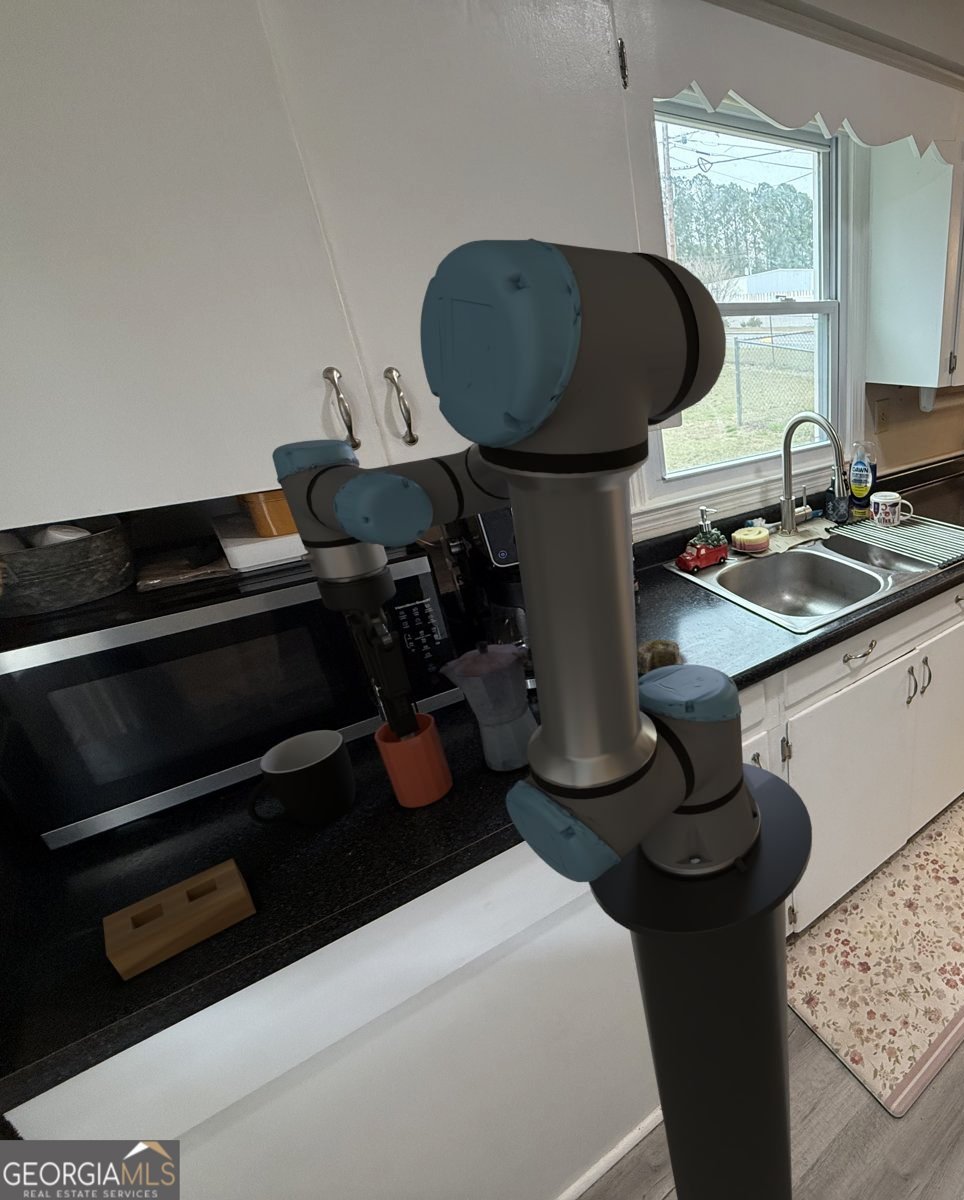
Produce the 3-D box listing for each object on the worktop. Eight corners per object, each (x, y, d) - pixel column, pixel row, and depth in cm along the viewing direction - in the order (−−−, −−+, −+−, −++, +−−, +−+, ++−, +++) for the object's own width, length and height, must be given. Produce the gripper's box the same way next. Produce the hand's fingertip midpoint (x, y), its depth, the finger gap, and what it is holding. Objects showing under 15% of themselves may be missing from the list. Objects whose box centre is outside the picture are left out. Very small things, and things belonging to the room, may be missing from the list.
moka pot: (468, 745, 99) (437, 635, 90) (570, 725, 103) (549, 618, 95) (461, 784, 90) (425, 666, 82) (571, 760, 95) (548, 646, 87)
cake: (624, 664, 123) (620, 639, 121) (670, 649, 128) (667, 625, 126) (644, 681, 115) (640, 655, 113) (692, 665, 120) (689, 640, 119)
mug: (342, 779, 91) (319, 722, 87) (378, 798, 88) (356, 740, 83) (247, 834, 82) (216, 773, 78) (283, 858, 78) (253, 796, 74)
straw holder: (256, 912, 71) (243, 887, 69) (124, 981, 64) (106, 955, 62) (245, 882, 75) (232, 857, 73) (119, 943, 68) (102, 918, 66)
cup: (460, 788, 90) (441, 726, 85) (407, 815, 85) (384, 750, 80) (441, 767, 94) (422, 707, 89) (390, 791, 89) (367, 729, 84)
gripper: (300, 565, 77) (357, 721, 87) (333, 597, 68) (393, 766, 78) (368, 549, 82) (415, 698, 92) (408, 577, 73) (455, 739, 83)
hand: (405, 729), depth 85 cm, fingers closed on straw, 1 cm apart
